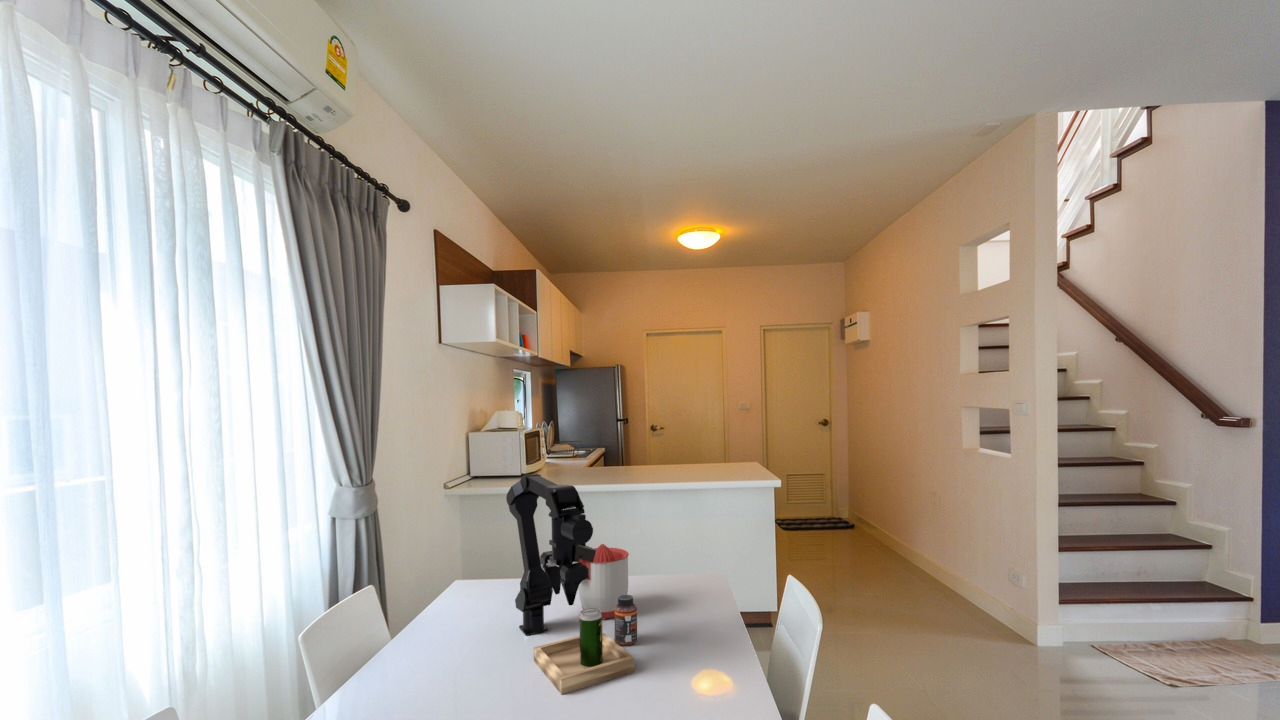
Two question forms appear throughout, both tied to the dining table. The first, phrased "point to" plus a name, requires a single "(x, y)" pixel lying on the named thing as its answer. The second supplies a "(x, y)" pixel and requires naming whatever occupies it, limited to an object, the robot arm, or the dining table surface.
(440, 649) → the dining table surface
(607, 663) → the wooden tray
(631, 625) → the supplement bottle
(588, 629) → the beer can
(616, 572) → the citrus juicer
